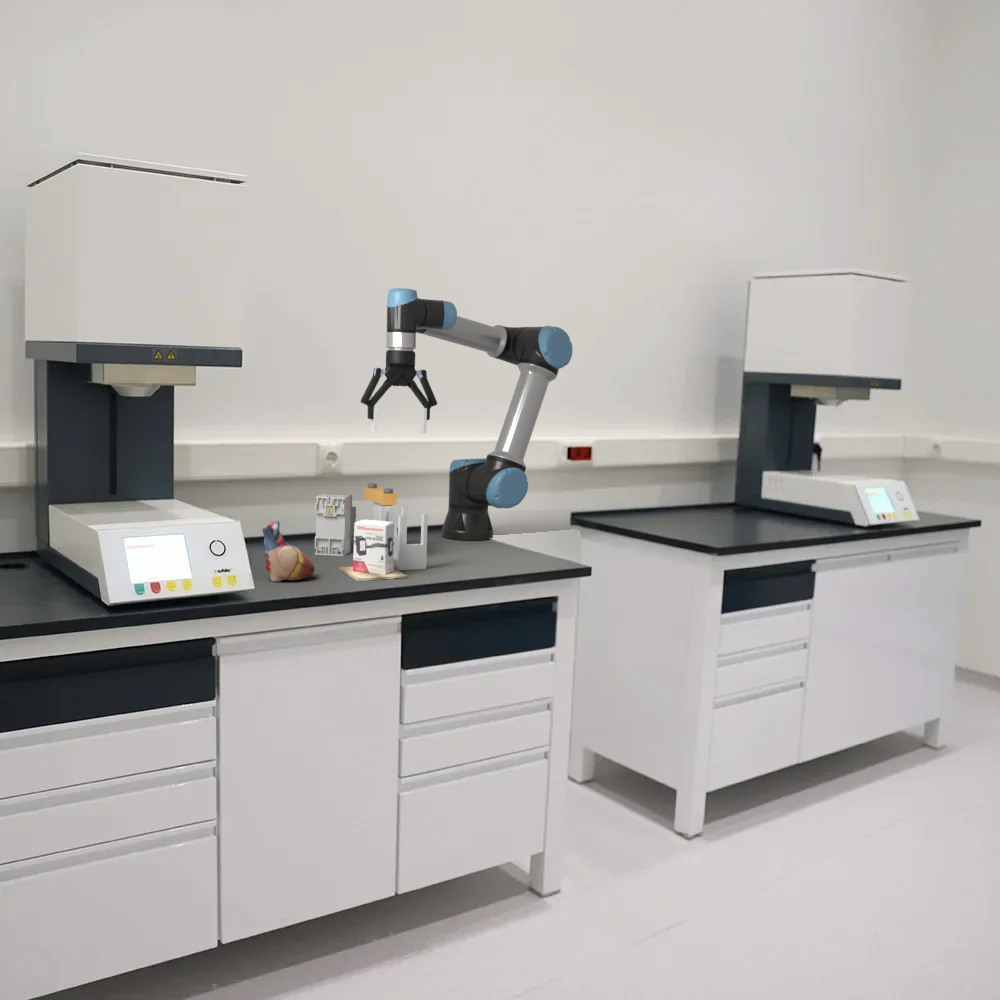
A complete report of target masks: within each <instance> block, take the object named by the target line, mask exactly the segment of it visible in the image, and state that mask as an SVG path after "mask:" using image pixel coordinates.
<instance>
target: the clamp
mask: <svg viewBox="0 0 1000 1000" xmlns="http://www.w3.org/2000/svg"><path fill="white" fill-rule="evenodd" d="M398 510H399V509H398V506H397V505H381V504H378V503H376V502H373V501H372V519H371V520H378V521H389V522H393V523H394V560H396V570H398V571H413V570H426V569H427V557H428V556H427V553H428V552H427V549H428V547H427V546H428V544H427V543H428V520H429V519H428V518H429V517H428V514H426V513H421V517H420V519H421V522H420V525H421V526H420V543H408V544H407V541H408V540H407V539H408V537H407V534H408V533H407V531H408V507H407V506H401V514H398Z"/></svg>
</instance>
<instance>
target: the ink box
mask: <svg viewBox="0 0 1000 1000" xmlns="http://www.w3.org/2000/svg"><path fill="white" fill-rule="evenodd" d="M352 561H353V563H352V566H353V571H357V572H366V573H375V574H384V575H385V574H387V573H390V572H392V571H393V568H394V523H393V522H389V521H378V520H372V519H360V520H358V521H356V522H355V523H354V535H353V556H352Z"/></svg>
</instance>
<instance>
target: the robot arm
mask: <svg viewBox="0 0 1000 1000" xmlns="http://www.w3.org/2000/svg"><path fill="white" fill-rule="evenodd" d="M386 299H387V302H386V342H385V343H386V344H385V345H386V346H385V347H386V348H387V350H386V352H385V368H381V367H374V368H373V372H372V377H371V379H370V382H369V383H368V384H367V387H366V389H365V391H364V392H363V395H362V396H361V399H360V403H361V404H363V405H366V406H367V419H368V420H370V432H371V433H378V406H375V405H376V404H377V403H378V402H379V400H380V399H382V397H383V396H384V395H385V394H386V392H387V391H388V390H389V389H390V388H391V387H408V388H409V389H410V391H412V393H413V395H415V397H416V398H417V400H418V401H419V403H420V404H421V405H422V407H420V410H419V411H420V413H419V433H421V434H427V421H430V418H431V408H432V407H435V406H437V405H438V401H437V399H436V397H435V394H434V392H433V389H432V387H431V384H430V382H429V380H428V373H427V370H426V369H420V370H416V368H415V367H416V352H415V351H414V350H415V349H416V343H417V335H416V333H417V334H421V335H424V336H428V337H432V338H435V339H439V340H442V341H446V342H449V343H453V344H456V345H460V346H464V347H468V348H471V349H474V350H476V351H481V352H484V353H486V354H487V355H488V356H489V357H490V358H493V359H495V360H496V359H497V360H500V361H503V362H506V363H509V364H513V365H515V366H517V368H518V370H519V373H520V374H519V376H518V380H517V382H516V385H515V389H514V391H513V393H512V395H513V396H512V398H511V400H510V403H509V407H508V410H507V412H506V415H505V418H504V420H503V421H504V422H503V424H502V428H501V430H500V433H499V436H498V439H497V443H496V445H495V449H494V450H493V451H491V452H490V453H489V452H488V454H487V455H486V457H485V458H465V459H464V458H463V459H461V458H460V459H454V460H452V461H451V462H450V466H449V471H448V475H449V476H448V477H449V478H448V479H449V481H448V511H447V514H446V516H445V519H444V522H443V524H442V528H441V536H442V537H443V538H445V539H451V540H457V541H483V540H484V541H485V540H491V539H493V538H494V528H493V525H492V522H491V518H490V513H489V507H493V508H496V509H512V508H514V507H516V506H518V505H519V504H520V503H521V502H522V501H523V500H524V499H525V497H526V495H527V492H528V489H529V482H528V477H527V475H526V473H525V472H526V469H527V465H526V463H525V461H524V458H525V455H526V453H527V449H528V447H529V444H530V440H531V437H532V434H533V431H534V428H535V426H536V422H537V419H538V416H539V413H540V411H541V408H542V404H543V402H544V398H545V395H546V393H547V389H548V386H549V384H550V383H551V382H553V381H555V380H556V379H557V376H558V373H559V370H560V369H563V368H564V367H565V366H568V364H569V363H570V361H571V360H572V356H573V343H572V341H571V338H570V336H569V334H568V333H567V332H566V331H565V329H563V328H561V327H558V326H551V325H545V326H520V327H515V326H514V327H512V326H511V327H510V326H506V325H505V326H504V325H501V324H496V325H494V326H492V325H488V324H485V323H482V322H479V321H475V320H473V319H469V318H465V317H462V316H458V310H457V308H456V306H455V304H454V303H453V302H452V301H447V300H443V299H441V300H438V299H428V298H427V299H424V298H420V297H418V292H417V290H416V289H412V288H404V287H403V288H400V287H397V288H391V289H389V290H388V292H387V298H386ZM383 376H385V378H386V379H385V380H384V381H383V383H382V385H381V386H380V387H379V388H378V389H377V390H376V387H377V385H378V383H379V381H380V379H381V377H383ZM415 377H417V378H418V379H419V382H420V384H421V387H422V390H423V391H424V394H425V395H424V394H423V392H422V391H421V389H420V388H419V386H418V385H417V383H416V382H415V380H414V379H415ZM375 390H376V392H374V391H375ZM373 393H374V395H373Z"/></svg>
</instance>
